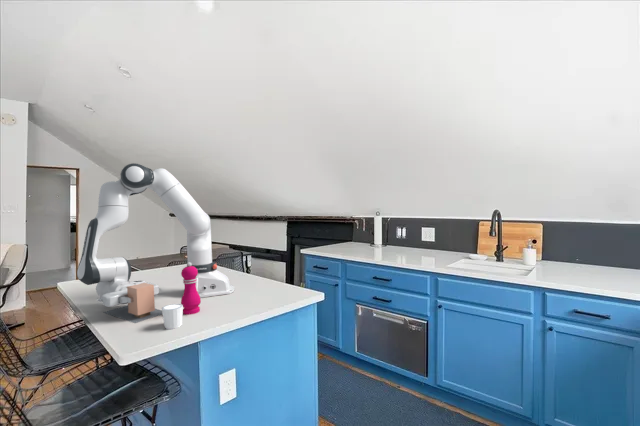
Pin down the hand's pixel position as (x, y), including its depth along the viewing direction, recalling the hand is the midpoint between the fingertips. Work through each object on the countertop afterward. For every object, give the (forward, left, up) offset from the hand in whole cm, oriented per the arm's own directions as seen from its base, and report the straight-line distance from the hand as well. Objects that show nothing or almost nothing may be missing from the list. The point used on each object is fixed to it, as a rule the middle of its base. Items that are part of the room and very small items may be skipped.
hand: (142, 297), depth 128 cm
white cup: (-13, +13, -8) cm, 21 cm away
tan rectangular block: (+1, -1, -6) cm, 6 cm away
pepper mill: (-17, 0, -8) cm, 19 cm away
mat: (+5, -6, -8) cm, 10 cm away
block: (+1, -1, -7) cm, 7 cm away
